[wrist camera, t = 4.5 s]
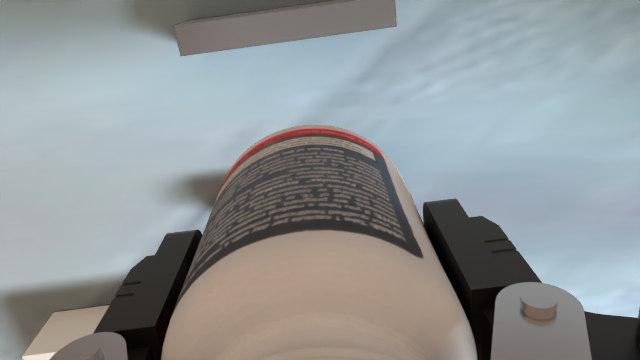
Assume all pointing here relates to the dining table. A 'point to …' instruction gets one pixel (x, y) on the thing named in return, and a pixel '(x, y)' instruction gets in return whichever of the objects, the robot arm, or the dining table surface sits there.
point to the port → (64, 331)
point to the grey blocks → (283, 25)
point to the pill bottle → (316, 262)
